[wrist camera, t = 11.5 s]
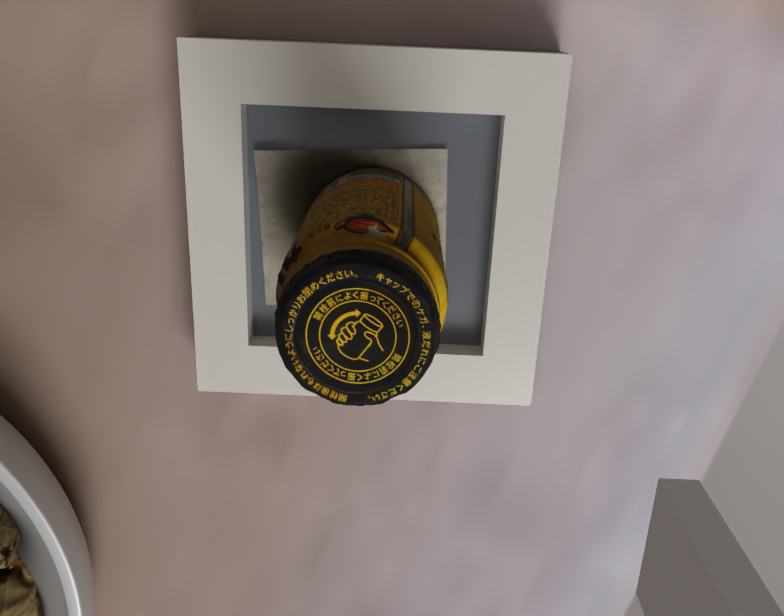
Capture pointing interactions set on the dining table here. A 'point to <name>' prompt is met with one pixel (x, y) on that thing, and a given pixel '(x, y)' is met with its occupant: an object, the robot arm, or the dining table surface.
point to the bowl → (39, 538)
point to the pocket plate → (376, 131)
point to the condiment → (355, 266)
